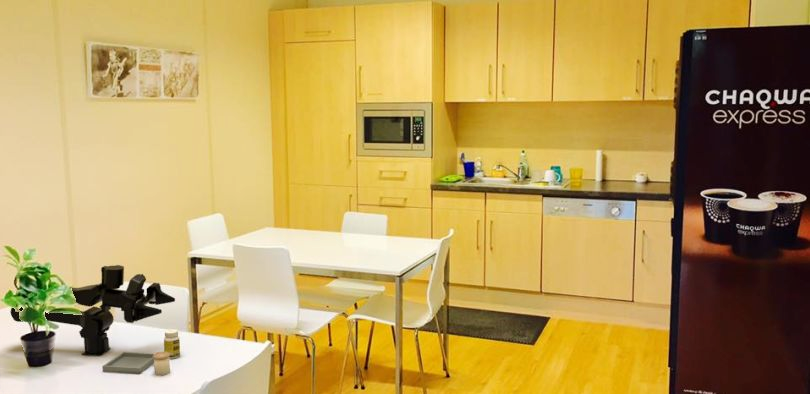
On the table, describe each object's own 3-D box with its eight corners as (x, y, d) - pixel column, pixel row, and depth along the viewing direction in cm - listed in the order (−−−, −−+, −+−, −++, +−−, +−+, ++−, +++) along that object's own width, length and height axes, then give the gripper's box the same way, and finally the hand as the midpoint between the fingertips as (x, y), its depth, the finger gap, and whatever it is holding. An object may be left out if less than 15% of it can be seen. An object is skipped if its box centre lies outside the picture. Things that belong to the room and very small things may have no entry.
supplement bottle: (175, 359, 223) (174, 334, 222) (161, 358, 224) (160, 333, 223) (182, 354, 228) (181, 329, 226) (169, 353, 229) (168, 328, 227)
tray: (102, 371, 213) (102, 366, 213) (123, 357, 225) (123, 351, 224) (140, 374, 211) (139, 368, 211) (159, 359, 223) (158, 353, 223)
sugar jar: (150, 375, 211) (149, 356, 210) (158, 369, 215) (157, 351, 214) (166, 376, 210) (165, 357, 209) (173, 370, 215) (172, 351, 214)
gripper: (105, 286, 214) (153, 293, 212) (136, 265, 232) (181, 271, 230) (106, 320, 217) (154, 327, 215) (136, 296, 235) (181, 302, 233)
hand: (168, 305), depth 223 cm, fingers open, 9 cm apart
